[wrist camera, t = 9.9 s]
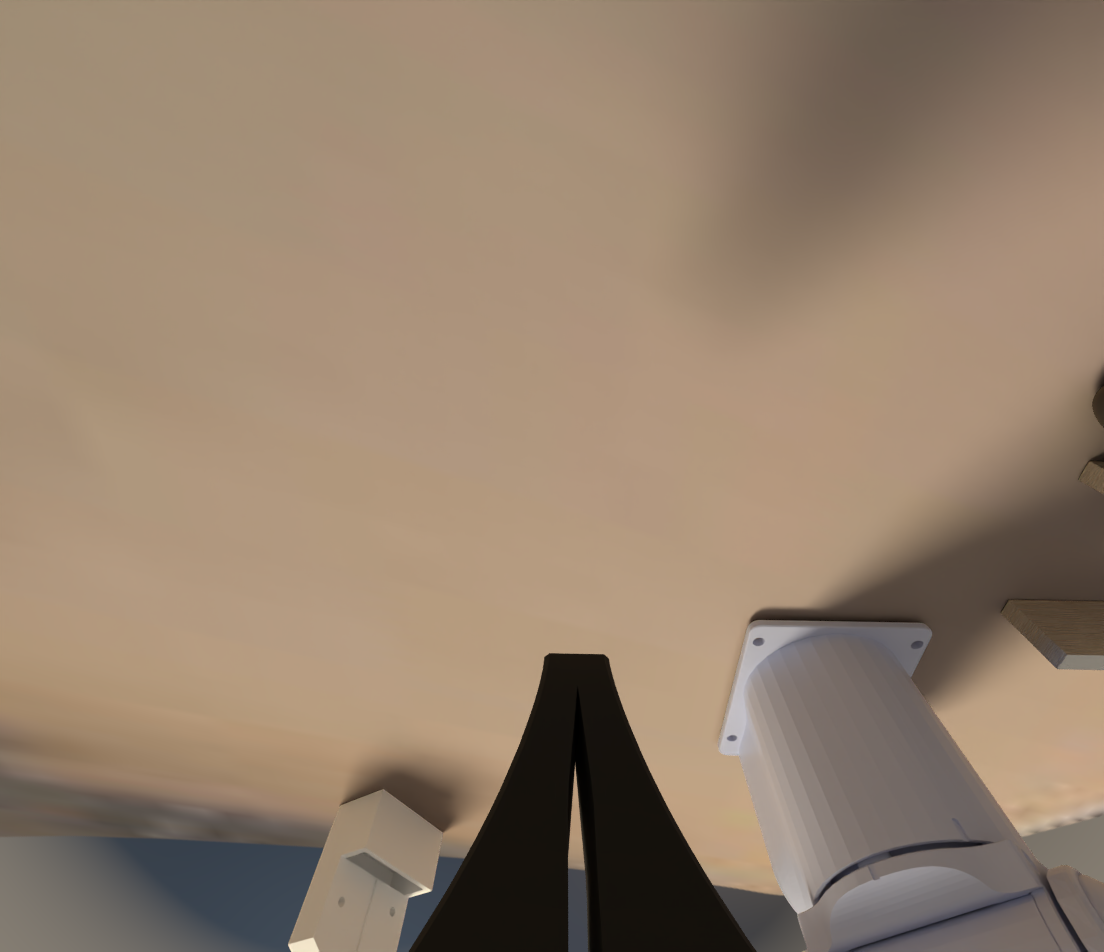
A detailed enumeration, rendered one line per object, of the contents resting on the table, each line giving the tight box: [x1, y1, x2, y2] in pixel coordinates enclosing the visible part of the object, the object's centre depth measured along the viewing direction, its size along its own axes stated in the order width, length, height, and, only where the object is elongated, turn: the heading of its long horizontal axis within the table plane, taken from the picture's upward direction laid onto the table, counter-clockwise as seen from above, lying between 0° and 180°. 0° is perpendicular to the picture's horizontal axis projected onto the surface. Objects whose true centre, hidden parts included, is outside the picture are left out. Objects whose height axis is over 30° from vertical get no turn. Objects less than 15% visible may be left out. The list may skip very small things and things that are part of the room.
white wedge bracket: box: [288, 789, 443, 952], centre depth 30 cm, size 4×10×9 cm, turn 33°
